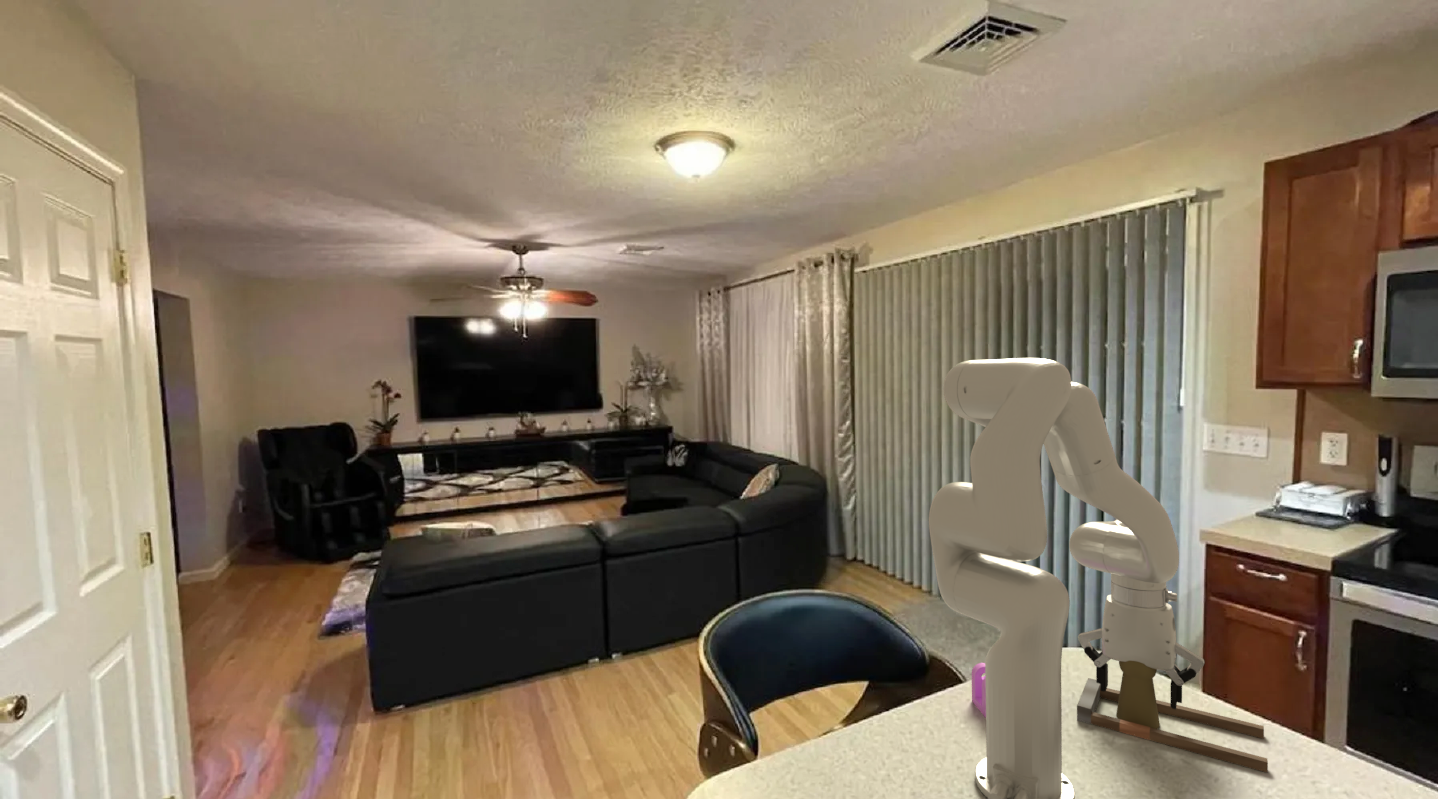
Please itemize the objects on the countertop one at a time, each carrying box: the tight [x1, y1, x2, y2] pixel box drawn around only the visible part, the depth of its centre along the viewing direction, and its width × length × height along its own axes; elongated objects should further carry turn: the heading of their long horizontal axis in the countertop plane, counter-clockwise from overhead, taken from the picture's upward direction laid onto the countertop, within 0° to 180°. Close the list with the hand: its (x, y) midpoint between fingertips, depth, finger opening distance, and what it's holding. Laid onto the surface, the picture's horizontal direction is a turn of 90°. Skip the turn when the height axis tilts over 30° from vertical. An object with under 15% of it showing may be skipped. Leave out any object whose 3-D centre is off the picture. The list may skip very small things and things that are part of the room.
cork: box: [1115, 661, 1161, 729], centre depth 105 cm, size 6×6×11 cm
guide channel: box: [1076, 677, 1269, 773], centre depth 103 cm, size 11×24×2 cm, turn 52°
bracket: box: [971, 662, 986, 719], centre depth 110 cm, size 13×6×7 cm, turn 91°
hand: (1138, 696), depth 105 cm, fingers open, 9 cm apart
